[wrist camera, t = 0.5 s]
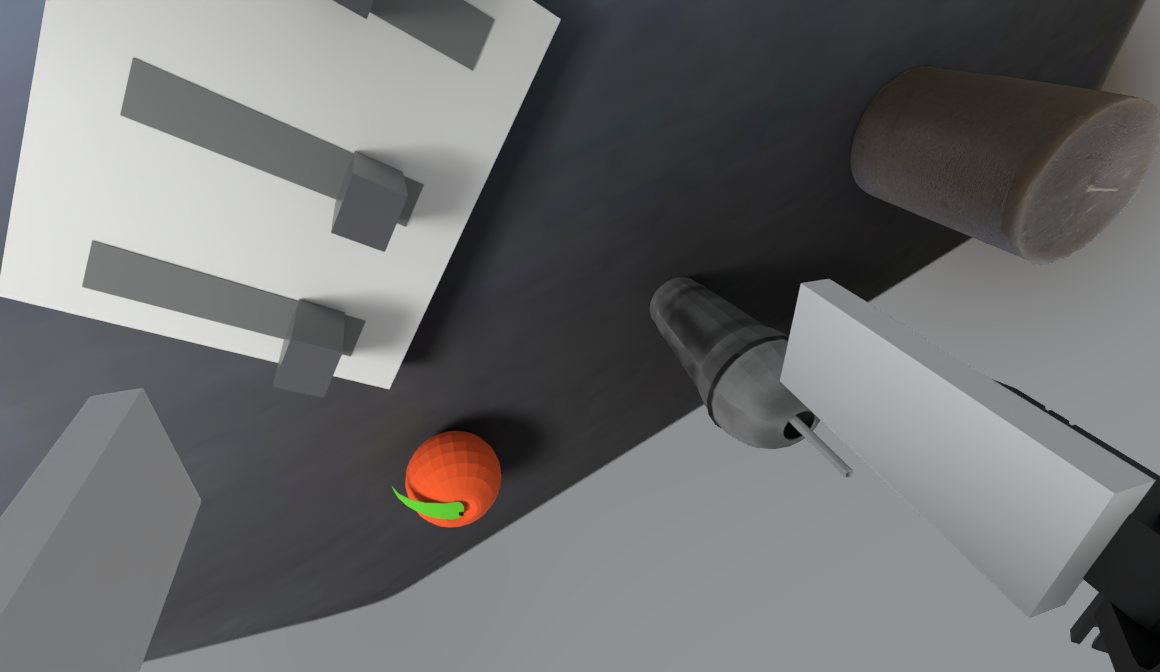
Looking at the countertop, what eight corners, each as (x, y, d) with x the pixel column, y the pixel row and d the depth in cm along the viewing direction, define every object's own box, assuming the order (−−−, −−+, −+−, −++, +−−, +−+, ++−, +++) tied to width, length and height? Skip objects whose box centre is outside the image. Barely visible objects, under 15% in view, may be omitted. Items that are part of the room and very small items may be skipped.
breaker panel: (27, 270, 29) (-63, 344, 23) (125, -263, 21) (28, -368, 15) (387, 364, 38) (391, 434, 32) (545, 17, 31) (590, 22, 25)
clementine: (380, 478, 43) (383, 552, 38) (397, 407, 40) (403, 475, 35) (480, 480, 47) (496, 549, 41) (501, 415, 44) (522, 478, 38)
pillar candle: (871, 65, 39) (1099, 101, 27) (976, 65, 41) (1226, 98, 29) (833, 201, 44) (1010, 283, 32) (928, 193, 47) (1125, 266, 34)
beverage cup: (666, 357, 46) (828, 552, 30) (615, 309, 42) (770, 504, 26) (732, 297, 45) (936, 465, 29) (685, 241, 41) (893, 401, 25)
